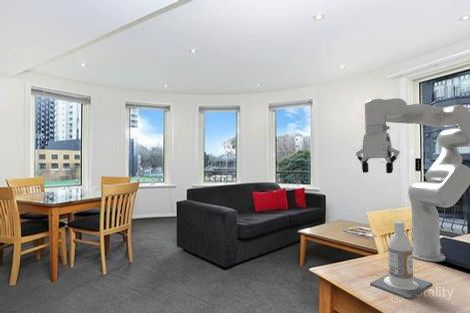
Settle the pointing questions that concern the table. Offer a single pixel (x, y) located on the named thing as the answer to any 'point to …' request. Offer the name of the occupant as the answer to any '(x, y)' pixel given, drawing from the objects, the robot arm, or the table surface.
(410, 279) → the bath foam
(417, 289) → the rubber mat
